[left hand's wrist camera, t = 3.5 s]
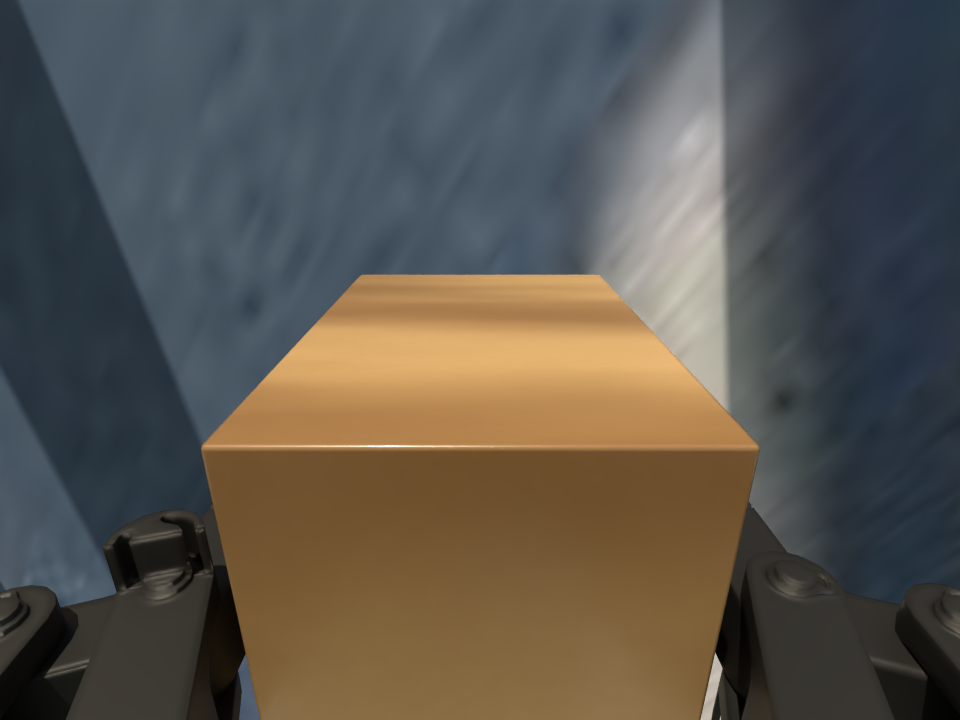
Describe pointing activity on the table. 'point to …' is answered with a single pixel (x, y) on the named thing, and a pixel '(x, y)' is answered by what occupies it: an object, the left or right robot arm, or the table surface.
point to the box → (480, 509)
